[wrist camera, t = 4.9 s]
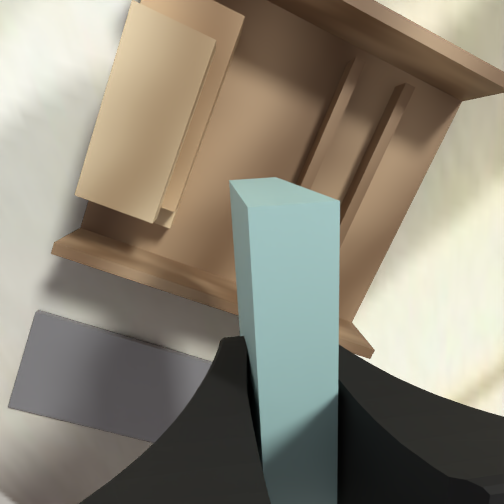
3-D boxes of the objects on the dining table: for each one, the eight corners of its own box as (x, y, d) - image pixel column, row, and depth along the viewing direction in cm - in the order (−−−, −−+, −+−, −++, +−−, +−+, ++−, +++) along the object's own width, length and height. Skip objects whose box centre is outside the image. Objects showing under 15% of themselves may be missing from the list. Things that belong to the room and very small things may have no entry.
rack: (83, 233, 18) (44, 257, 14) (171, -55, 16) (156, -133, 11) (343, 323, 21) (375, 365, 17) (456, 93, 18) (528, 75, 14)
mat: (10, 403, 20) (7, 406, 20) (38, 309, 19) (35, 312, 19) (213, 453, 23) (213, 457, 22) (249, 372, 21) (249, 375, 21)
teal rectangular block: (247, 440, 14) (273, 637, 8) (228, 180, 11) (247, 207, 6) (285, 435, 14) (336, 625, 9) (275, 177, 12) (339, 200, 6)
